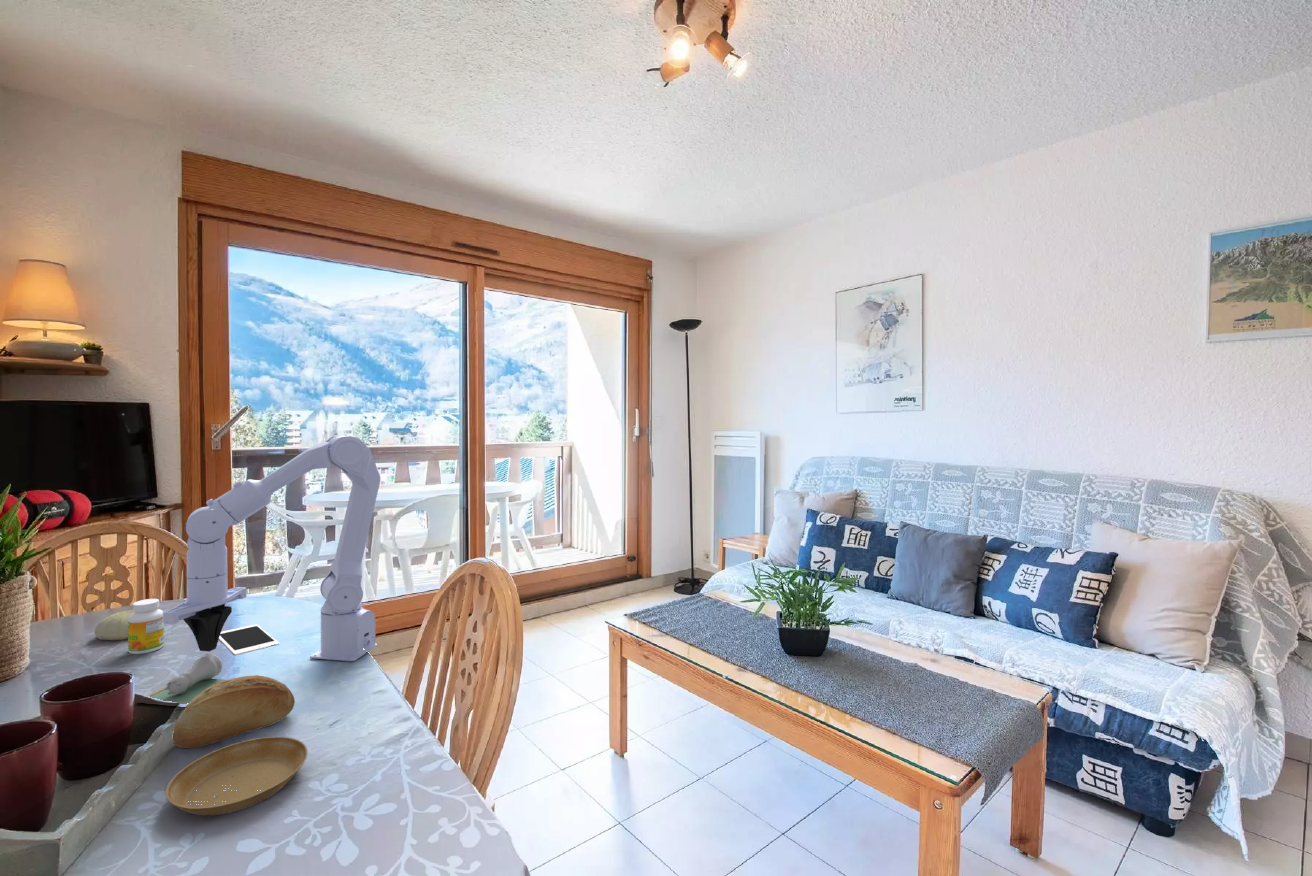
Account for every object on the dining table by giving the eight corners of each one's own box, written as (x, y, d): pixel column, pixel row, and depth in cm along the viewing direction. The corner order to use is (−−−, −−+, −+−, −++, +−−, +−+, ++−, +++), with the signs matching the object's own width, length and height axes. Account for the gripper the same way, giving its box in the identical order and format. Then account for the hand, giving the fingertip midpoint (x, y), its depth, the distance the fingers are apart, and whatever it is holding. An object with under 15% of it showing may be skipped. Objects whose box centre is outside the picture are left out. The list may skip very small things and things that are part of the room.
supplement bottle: (122, 651, 113) (121, 603, 112) (154, 642, 118) (154, 596, 117) (137, 656, 111) (137, 607, 110) (170, 646, 116) (169, 599, 115)
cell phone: (234, 657, 112) (234, 654, 112) (214, 635, 123) (214, 633, 123) (280, 645, 118) (280, 642, 118) (256, 626, 129) (256, 623, 129)
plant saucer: (237, 837, 65) (237, 815, 64) (132, 818, 67) (131, 797, 67) (333, 761, 79) (333, 743, 79) (243, 748, 82) (243, 730, 82)
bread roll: (301, 727, 87) (301, 676, 87) (174, 767, 77) (174, 709, 77) (288, 704, 94) (288, 656, 94) (170, 737, 84) (169, 684, 84)
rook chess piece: (223, 677, 102) (184, 703, 94) (199, 673, 102) (159, 698, 94) (224, 654, 102) (186, 678, 94) (200, 650, 102) (160, 674, 94)
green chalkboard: (248, 683, 101) (248, 680, 101) (201, 709, 92) (201, 706, 92) (188, 678, 102) (188, 676, 102) (136, 703, 93) (136, 700, 93)
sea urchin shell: (166, 622, 124) (131, 604, 119) (133, 656, 119) (95, 638, 114) (150, 614, 129) (117, 596, 124) (118, 646, 124) (82, 629, 119)
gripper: (223, 563, 109) (223, 633, 109) (146, 585, 94) (147, 665, 95) (256, 565, 108) (256, 635, 108) (184, 587, 93) (184, 668, 94)
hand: (207, 649), depth 101 cm, fingers closed
